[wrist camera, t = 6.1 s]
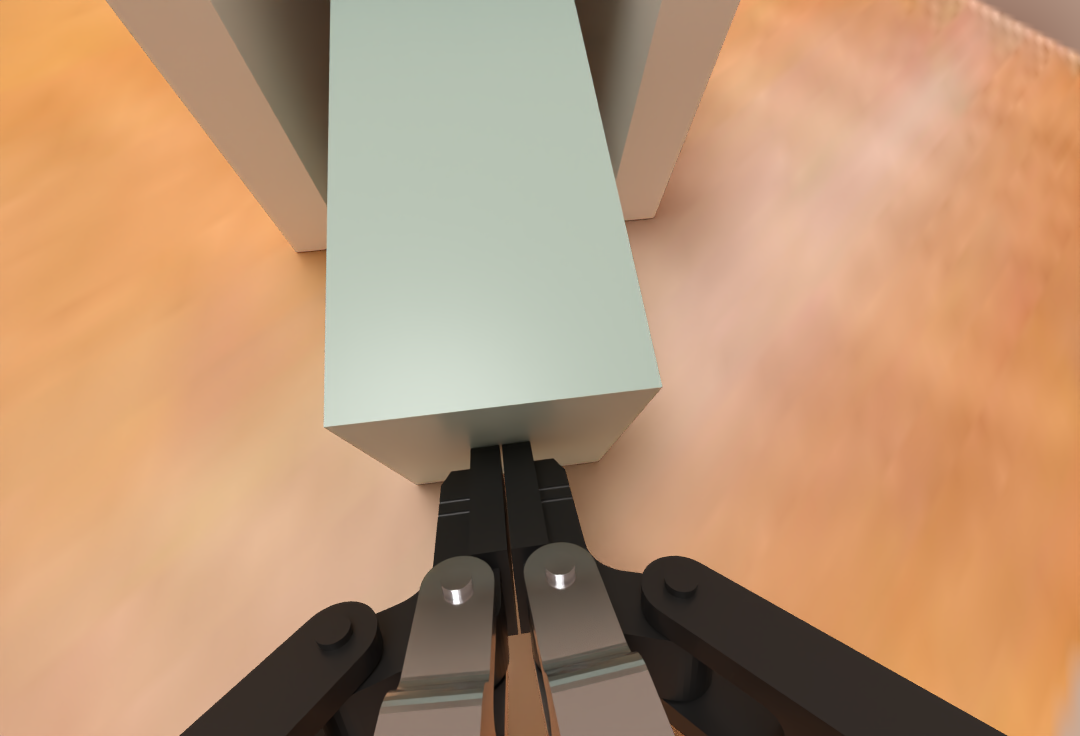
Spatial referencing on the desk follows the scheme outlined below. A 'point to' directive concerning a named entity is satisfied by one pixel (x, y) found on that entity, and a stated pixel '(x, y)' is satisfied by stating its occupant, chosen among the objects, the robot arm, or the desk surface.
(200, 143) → the desk surface
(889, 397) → the desk surface
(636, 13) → the cream slotted block
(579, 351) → the pale sage rectangular prism
